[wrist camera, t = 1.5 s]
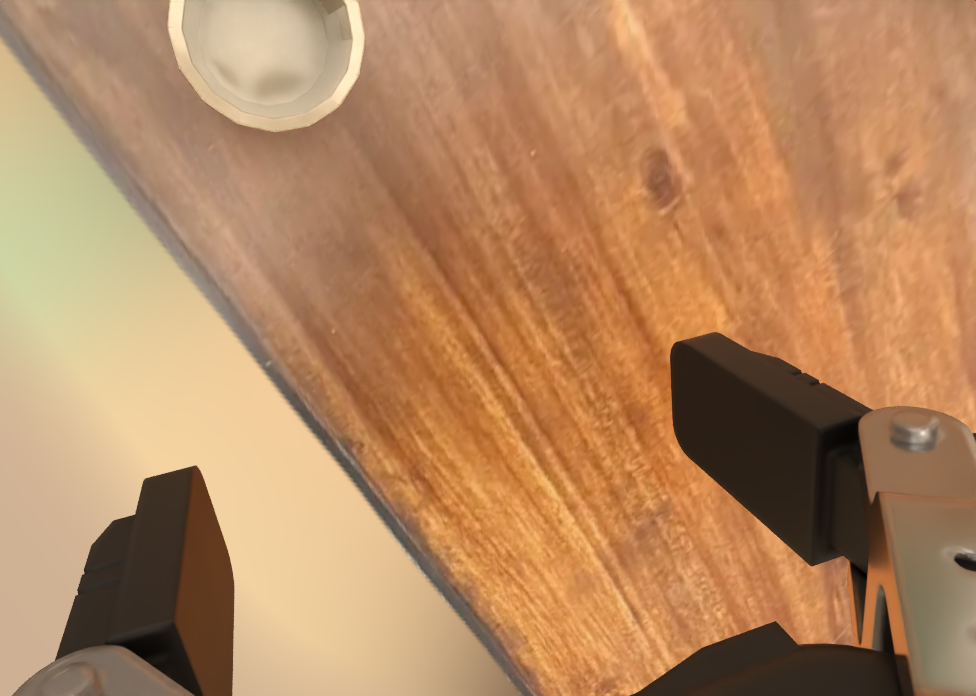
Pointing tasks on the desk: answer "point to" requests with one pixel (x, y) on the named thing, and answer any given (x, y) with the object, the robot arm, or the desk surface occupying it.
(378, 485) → the desk surface
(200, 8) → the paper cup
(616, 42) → the desk surface
